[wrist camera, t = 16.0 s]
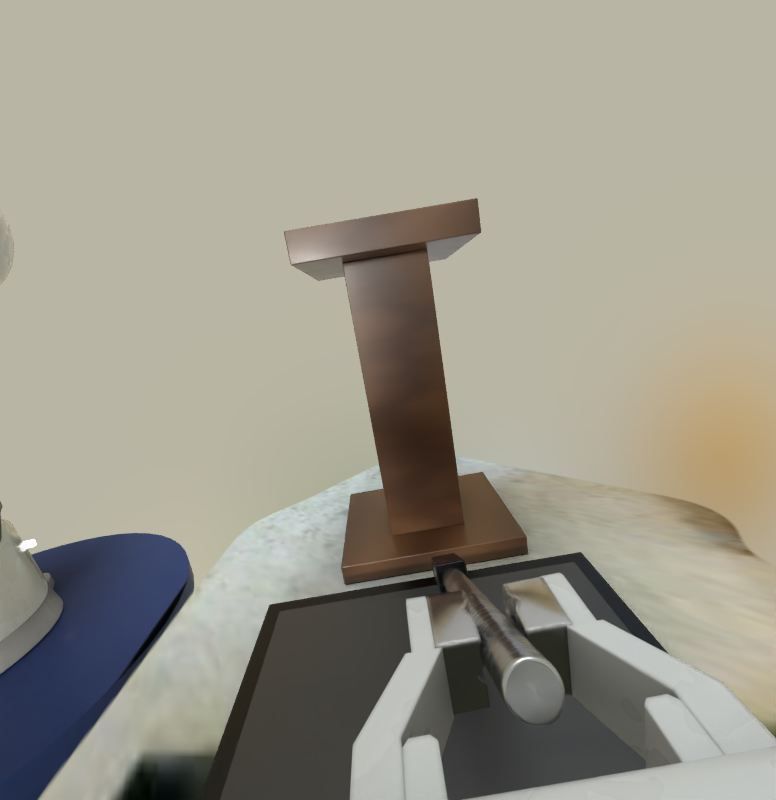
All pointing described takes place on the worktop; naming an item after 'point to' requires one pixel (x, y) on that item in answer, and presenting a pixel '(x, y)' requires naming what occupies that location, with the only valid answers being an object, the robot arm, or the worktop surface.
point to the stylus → (506, 652)
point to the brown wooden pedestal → (406, 394)
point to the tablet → (366, 681)
